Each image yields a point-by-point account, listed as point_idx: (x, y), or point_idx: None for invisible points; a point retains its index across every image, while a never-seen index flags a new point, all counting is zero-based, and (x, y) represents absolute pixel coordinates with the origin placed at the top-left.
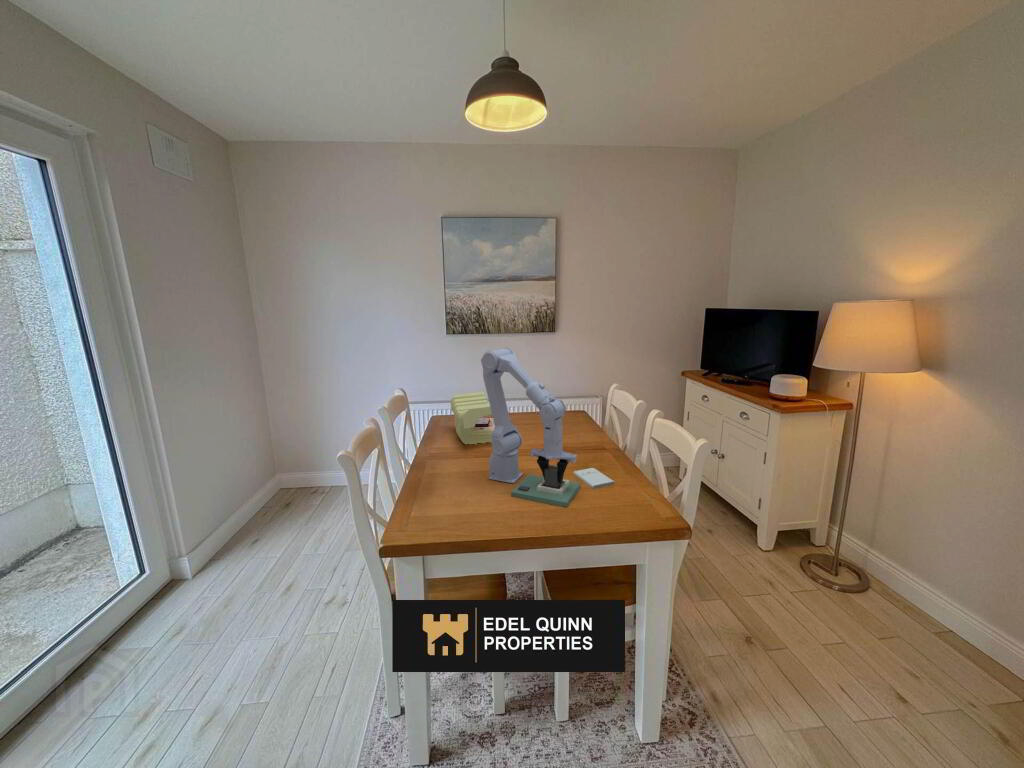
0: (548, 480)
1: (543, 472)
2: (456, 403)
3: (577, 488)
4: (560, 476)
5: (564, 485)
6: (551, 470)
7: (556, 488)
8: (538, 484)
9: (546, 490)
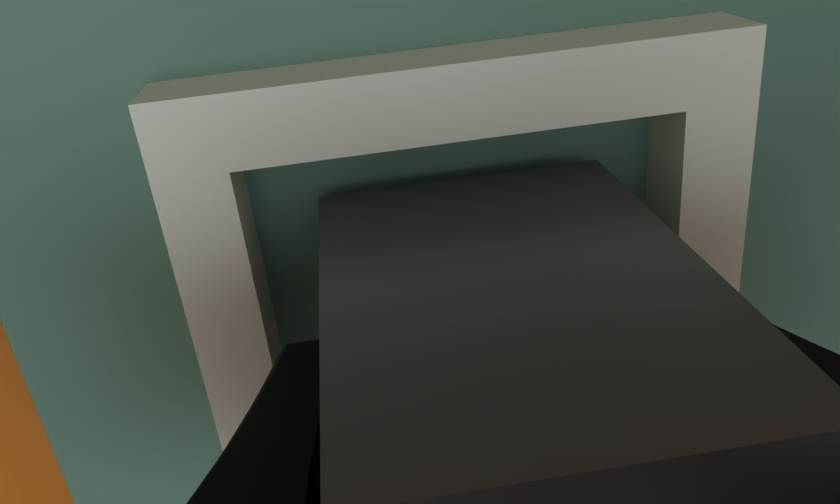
0: (566, 246)
1: (829, 374)
2: None
3: (74, 474)
4: (237, 444)
5: (229, 374)
6: (569, 473)
7: (332, 205)
8: (763, 247)
9: (509, 48)
